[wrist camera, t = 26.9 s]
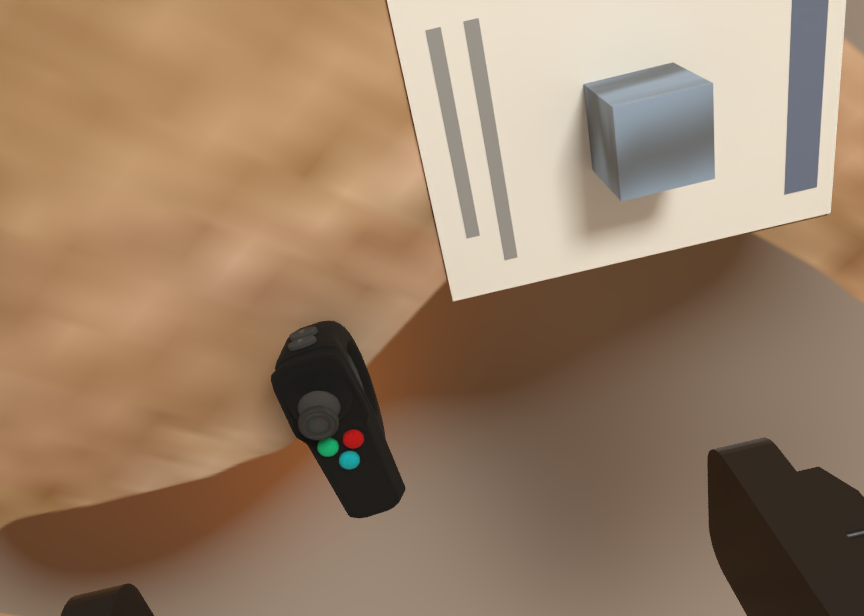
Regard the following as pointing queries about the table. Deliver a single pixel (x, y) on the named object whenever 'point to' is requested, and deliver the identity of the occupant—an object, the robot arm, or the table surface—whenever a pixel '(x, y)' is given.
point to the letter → (568, 129)
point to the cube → (651, 130)
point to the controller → (338, 416)
